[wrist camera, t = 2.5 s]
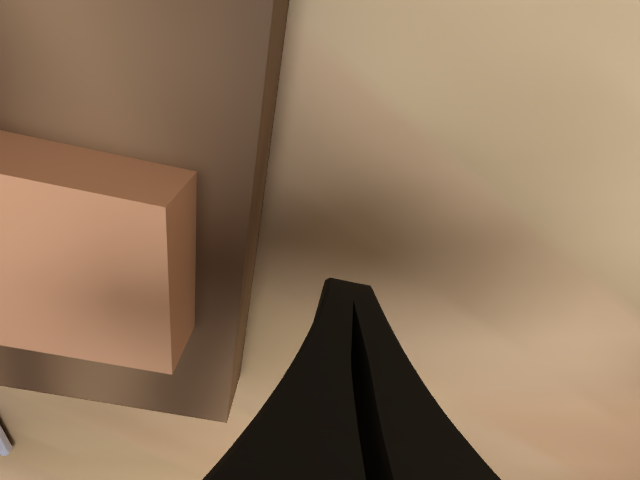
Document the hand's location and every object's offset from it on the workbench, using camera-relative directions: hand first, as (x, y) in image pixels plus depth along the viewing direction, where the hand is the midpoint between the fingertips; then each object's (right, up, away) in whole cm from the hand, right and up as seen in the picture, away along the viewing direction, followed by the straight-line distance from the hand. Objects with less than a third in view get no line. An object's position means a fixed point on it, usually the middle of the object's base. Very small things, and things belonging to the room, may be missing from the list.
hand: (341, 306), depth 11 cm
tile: (-8, +2, 0) cm, 8 cm away
